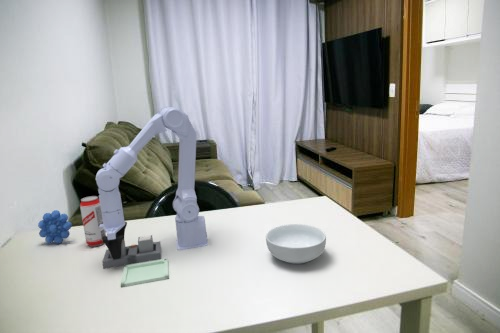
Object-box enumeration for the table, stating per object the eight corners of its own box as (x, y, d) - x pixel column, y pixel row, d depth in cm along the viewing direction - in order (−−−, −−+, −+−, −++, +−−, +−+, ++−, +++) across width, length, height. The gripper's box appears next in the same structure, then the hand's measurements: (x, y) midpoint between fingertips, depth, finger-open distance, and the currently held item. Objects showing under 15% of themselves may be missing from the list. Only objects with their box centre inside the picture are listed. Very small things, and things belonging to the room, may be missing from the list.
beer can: (99, 248, 112) (91, 201, 108) (82, 247, 113) (74, 201, 109) (110, 239, 118) (103, 195, 114) (94, 239, 119) (87, 195, 115)
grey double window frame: (161, 248, 109) (159, 240, 108) (161, 260, 101) (159, 251, 100) (107, 257, 105) (106, 248, 104) (103, 269, 97) (102, 260, 97)
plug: (126, 257, 104) (124, 238, 103) (125, 262, 101) (122, 243, 100) (113, 259, 103) (110, 240, 102) (111, 265, 100) (108, 245, 99)
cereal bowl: (331, 248, 102) (331, 226, 101) (318, 277, 88) (317, 252, 86) (278, 241, 110) (277, 220, 108) (257, 266, 95) (256, 242, 93)
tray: (168, 262, 100) (167, 258, 99) (169, 280, 90) (168, 275, 90) (125, 269, 97) (124, 265, 97) (121, 288, 87) (120, 284, 87)
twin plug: (154, 252, 106) (152, 234, 105) (154, 258, 103) (151, 239, 101) (141, 255, 105) (138, 236, 104) (140, 260, 102) (137, 241, 100)
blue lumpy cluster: (81, 237, 121) (75, 205, 118) (70, 246, 114) (64, 212, 112) (49, 238, 121) (43, 206, 119) (37, 247, 115) (30, 213, 112)
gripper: (101, 203, 104) (107, 244, 107) (92, 220, 91) (100, 266, 94) (125, 200, 106) (131, 240, 109) (120, 216, 92) (127, 262, 95)
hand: (118, 252), depth 102 cm, fingers open, 7 cm apart
